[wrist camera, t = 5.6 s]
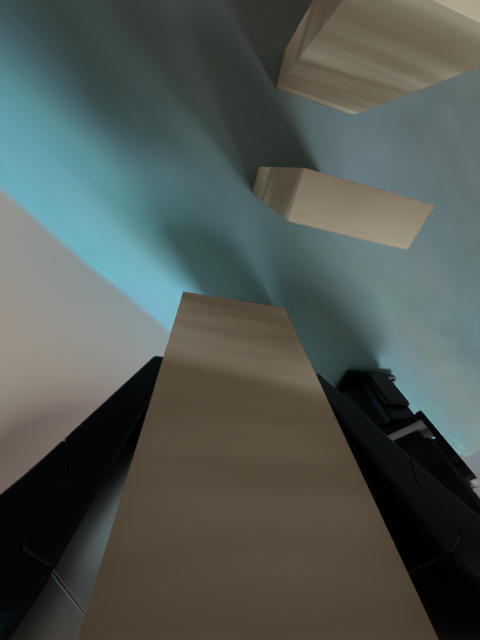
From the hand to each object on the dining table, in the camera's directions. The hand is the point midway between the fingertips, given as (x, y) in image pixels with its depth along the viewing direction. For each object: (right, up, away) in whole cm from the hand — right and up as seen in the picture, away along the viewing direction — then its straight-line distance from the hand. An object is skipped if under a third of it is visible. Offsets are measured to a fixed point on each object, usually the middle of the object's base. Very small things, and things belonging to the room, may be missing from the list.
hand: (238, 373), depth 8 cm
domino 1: (+5, +16, +5) cm, 17 cm away
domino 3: (0, +2, +3) cm, 4 cm away
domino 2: (+4, +11, +8) cm, 14 cm away
